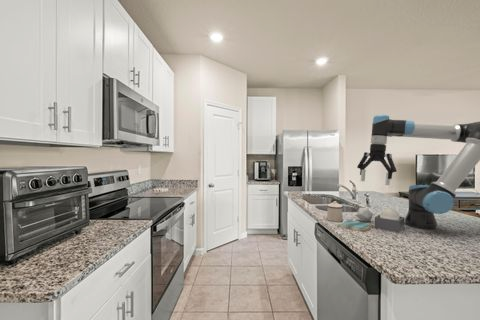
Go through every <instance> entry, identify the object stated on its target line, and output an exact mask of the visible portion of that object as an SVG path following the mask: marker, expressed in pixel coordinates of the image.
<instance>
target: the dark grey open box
mask: <svg viewBox="0 0 480 320" xmlns="http://www.w3.org/2000/svg"><path fill="white" fill-rule="evenodd" d="M405 218H406V216H400V219H399V220H398V221H397V220H391V219H385V218H380V214H378V215H376V216H374V229H378V230H383V231H387V232H388V231H389V232H394V233H399V234H400V232H401V231H403V230H405Z"/></svg>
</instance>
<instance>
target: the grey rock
mask: <svg viewBox="0 0 480 320" xmlns="http://www.w3.org/2000/svg"><path fill="white" fill-rule="evenodd" d="M355 216H356V217H357V218H358V220H359V222H361V223H366V222H367V223H369V222H371V220H372V218H373V216H374V213H373V212H372V210H370V209H369V208H368V207H358V210H357V212H356V215H355Z"/></svg>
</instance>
